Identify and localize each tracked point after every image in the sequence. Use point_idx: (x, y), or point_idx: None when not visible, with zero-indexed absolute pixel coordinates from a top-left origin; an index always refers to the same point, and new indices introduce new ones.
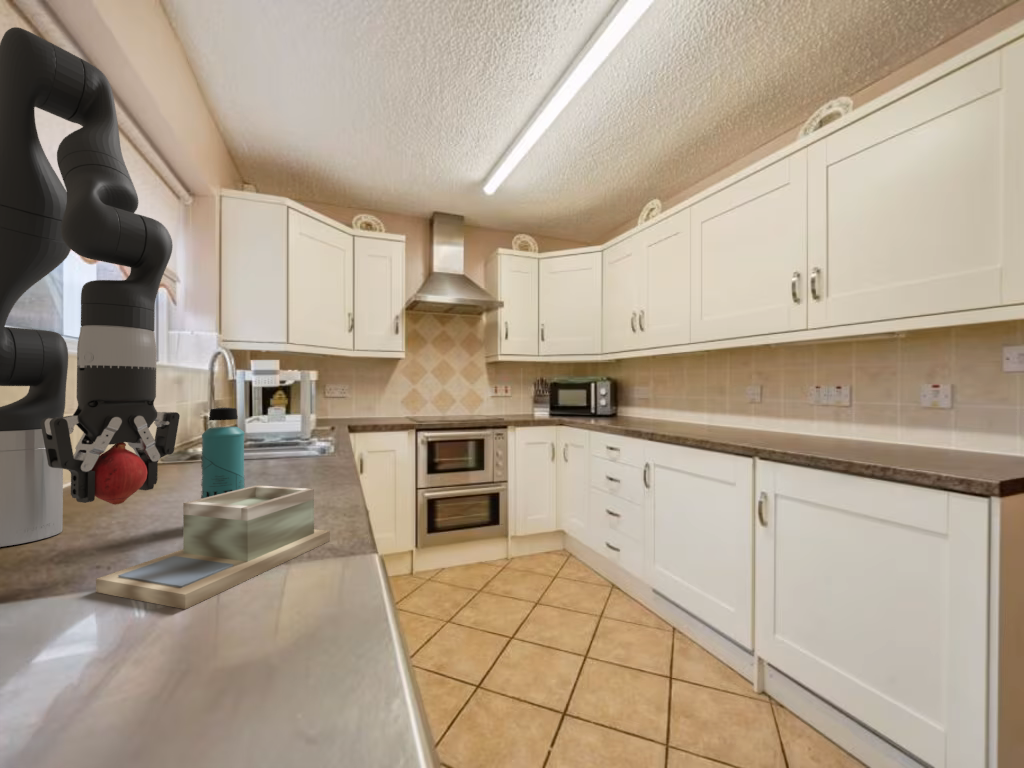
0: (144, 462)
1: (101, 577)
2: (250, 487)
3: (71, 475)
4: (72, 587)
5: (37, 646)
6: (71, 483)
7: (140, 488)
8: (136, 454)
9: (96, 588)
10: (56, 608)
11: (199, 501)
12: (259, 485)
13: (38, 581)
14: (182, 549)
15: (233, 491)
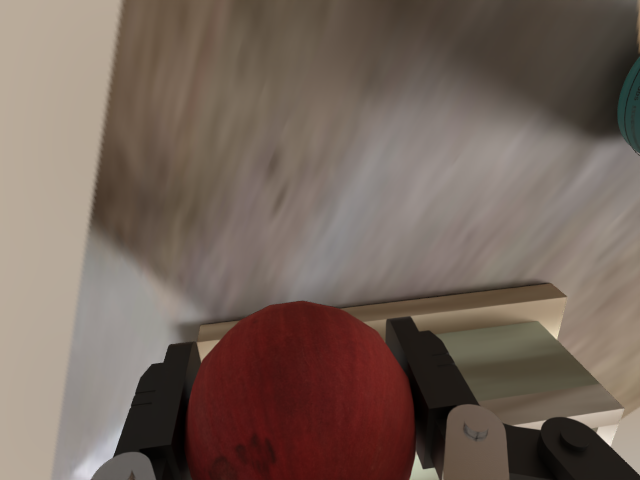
0: (432, 440)
1: (205, 343)
2: (590, 421)
3: (116, 452)
4: (187, 256)
5: (86, 442)
6: (129, 417)
7: (386, 335)
8: (445, 445)
9: (199, 330)
10: (136, 338)
11: (415, 454)
12: (620, 418)
13: (159, 135)
14: (369, 323)
15: (535, 427)
